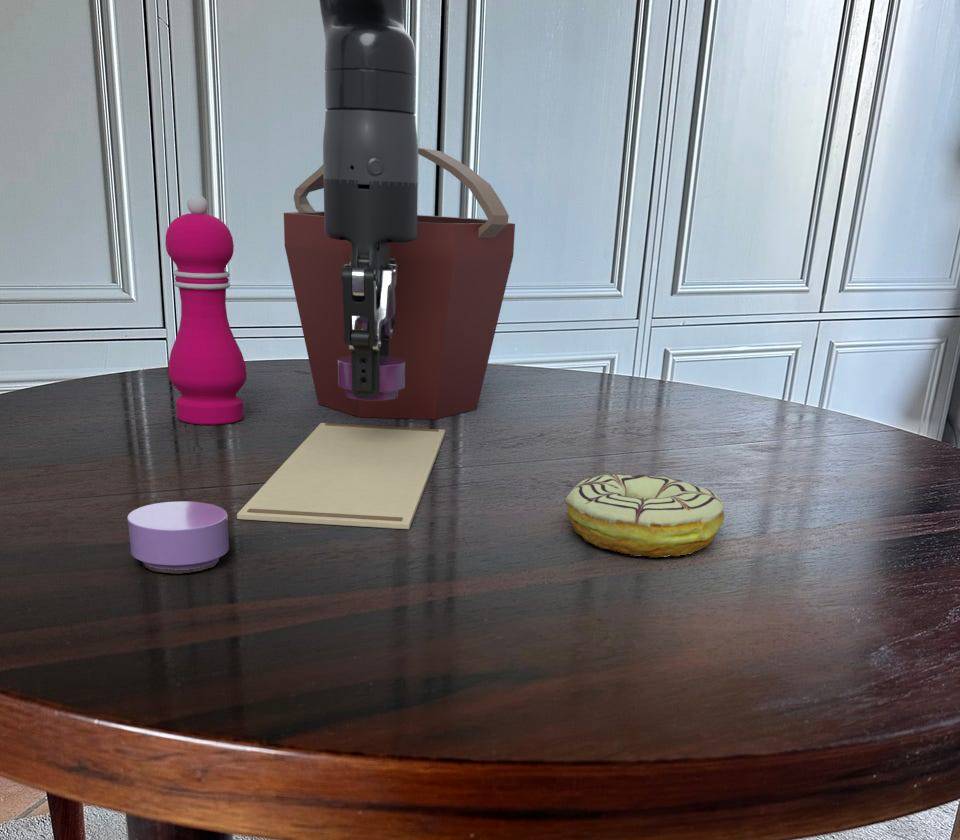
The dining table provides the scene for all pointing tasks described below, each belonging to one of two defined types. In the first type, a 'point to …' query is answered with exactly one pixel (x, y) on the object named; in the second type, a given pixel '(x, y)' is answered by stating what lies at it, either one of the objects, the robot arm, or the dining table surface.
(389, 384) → the plum dish
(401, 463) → the placemat
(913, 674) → the dining table surface
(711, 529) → the decorated donut
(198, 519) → the lilac dish
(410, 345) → the bucket
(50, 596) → the dining table surface
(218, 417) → the pepper mill
